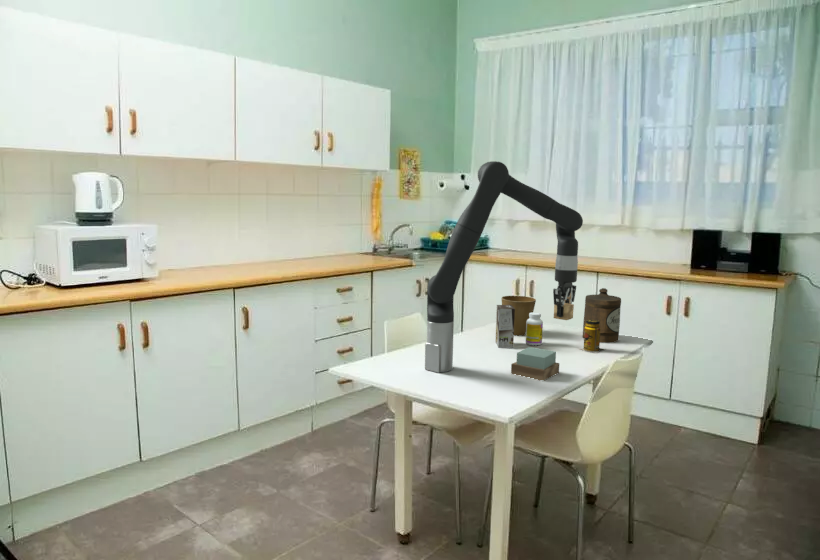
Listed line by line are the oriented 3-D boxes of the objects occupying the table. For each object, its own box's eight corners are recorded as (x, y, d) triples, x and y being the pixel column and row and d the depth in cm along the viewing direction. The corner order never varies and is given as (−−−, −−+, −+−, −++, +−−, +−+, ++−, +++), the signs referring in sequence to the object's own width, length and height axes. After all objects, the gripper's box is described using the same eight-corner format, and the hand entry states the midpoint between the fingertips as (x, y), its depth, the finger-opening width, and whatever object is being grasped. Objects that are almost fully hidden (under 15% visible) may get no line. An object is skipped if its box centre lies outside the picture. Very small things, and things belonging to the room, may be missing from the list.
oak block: (566, 320, 207) (567, 306, 207) (553, 318, 210) (554, 304, 210) (572, 318, 211) (573, 304, 210) (559, 316, 214) (560, 302, 213)
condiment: (579, 349, 238) (580, 320, 236) (590, 346, 244) (591, 317, 242) (595, 353, 233) (597, 323, 231) (606, 349, 238) (608, 320, 237)
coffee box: (513, 348, 239) (515, 308, 236) (497, 347, 239) (499, 308, 237) (510, 342, 248) (512, 304, 245) (495, 342, 248) (496, 304, 246)
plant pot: (503, 337, 256) (504, 301, 253) (497, 329, 270) (499, 295, 268) (537, 338, 256) (539, 301, 254) (530, 330, 271) (531, 295, 268)
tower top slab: (543, 369, 198) (544, 357, 198) (516, 364, 204) (516, 352, 204) (555, 362, 206) (556, 351, 206) (528, 357, 212) (529, 346, 212)
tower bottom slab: (542, 382, 198) (543, 370, 197) (511, 375, 205) (511, 364, 204) (558, 374, 207) (559, 363, 206) (527, 367, 214) (528, 356, 214)
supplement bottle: (542, 346, 242) (543, 315, 240) (525, 345, 243) (527, 314, 241) (541, 342, 249) (542, 312, 247) (525, 341, 250) (526, 311, 248)
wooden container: (617, 344, 247) (620, 292, 244) (580, 340, 253) (583, 289, 249) (619, 336, 260) (623, 287, 257) (584, 333, 266) (587, 284, 263)
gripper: (567, 270, 200) (564, 320, 203) (585, 267, 211) (581, 314, 214) (547, 268, 205) (544, 317, 207) (565, 265, 216) (562, 311, 218)
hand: (563, 315), depth 211 cm, fingers closed on oak block, 5 cm apart
